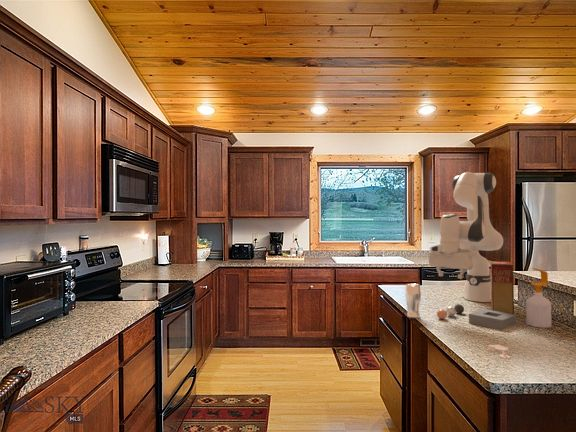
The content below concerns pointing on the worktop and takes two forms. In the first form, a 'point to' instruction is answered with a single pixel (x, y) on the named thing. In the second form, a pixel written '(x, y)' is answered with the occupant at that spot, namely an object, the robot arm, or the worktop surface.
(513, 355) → the worktop surface
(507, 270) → the food packaging
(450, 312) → the steel ball
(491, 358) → the worktop surface
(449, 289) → the worktop surface
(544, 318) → the soap bottle
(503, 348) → the brush
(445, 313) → the terracotta ball
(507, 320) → the housing
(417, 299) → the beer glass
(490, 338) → the worktop surface
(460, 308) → the black rubber ball
